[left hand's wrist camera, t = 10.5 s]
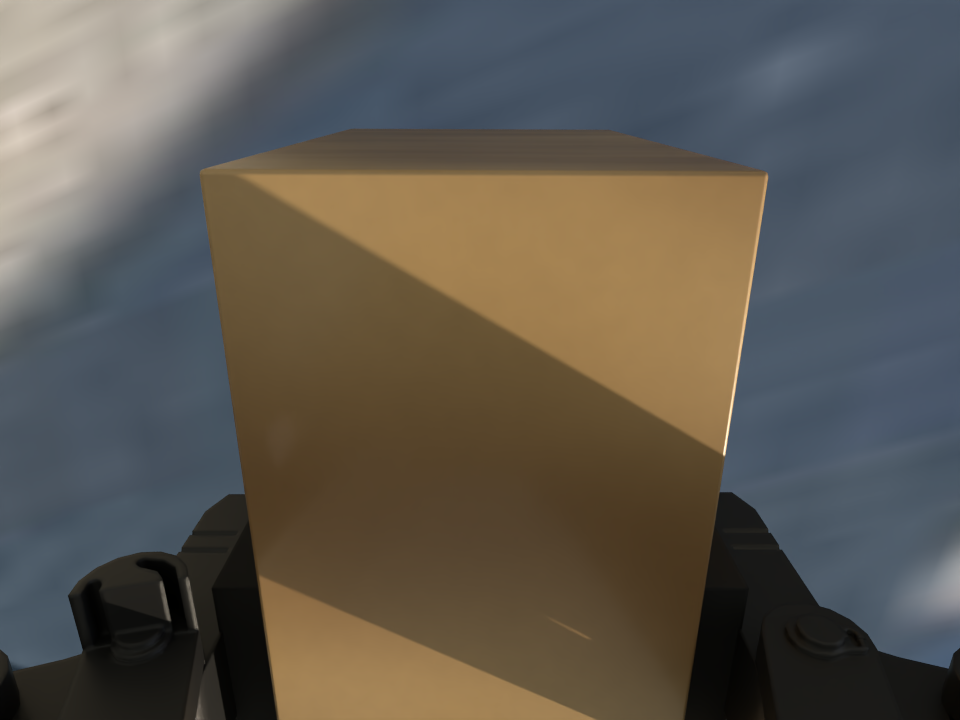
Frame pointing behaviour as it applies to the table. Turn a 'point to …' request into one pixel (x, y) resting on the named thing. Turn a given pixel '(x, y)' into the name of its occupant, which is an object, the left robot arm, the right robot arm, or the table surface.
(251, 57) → the table surface
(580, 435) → the bar
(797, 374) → the table surface
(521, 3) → the table surface
